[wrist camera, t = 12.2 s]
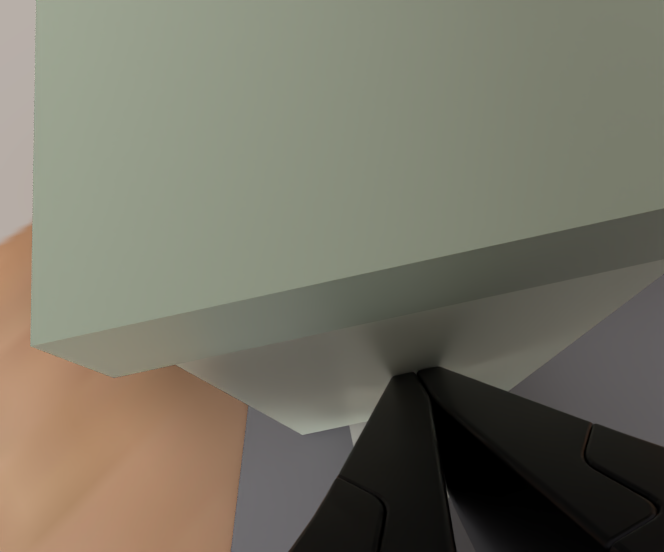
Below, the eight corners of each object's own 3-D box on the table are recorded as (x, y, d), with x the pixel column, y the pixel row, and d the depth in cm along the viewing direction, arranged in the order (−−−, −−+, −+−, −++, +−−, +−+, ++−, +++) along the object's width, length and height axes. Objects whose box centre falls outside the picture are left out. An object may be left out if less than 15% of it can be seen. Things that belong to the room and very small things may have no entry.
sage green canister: (520, 398, 14) (907, 154, 4) (294, 446, 14) (31, 346, 4) (456, 200, 16) (581, -309, 6) (261, 243, 16) (38, -181, 6)
